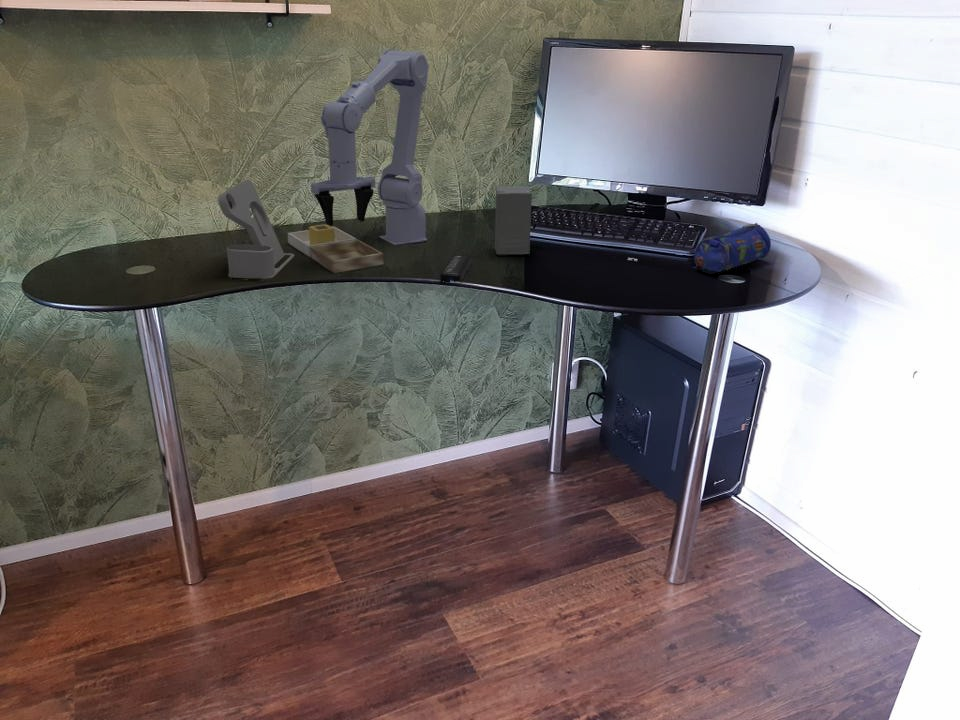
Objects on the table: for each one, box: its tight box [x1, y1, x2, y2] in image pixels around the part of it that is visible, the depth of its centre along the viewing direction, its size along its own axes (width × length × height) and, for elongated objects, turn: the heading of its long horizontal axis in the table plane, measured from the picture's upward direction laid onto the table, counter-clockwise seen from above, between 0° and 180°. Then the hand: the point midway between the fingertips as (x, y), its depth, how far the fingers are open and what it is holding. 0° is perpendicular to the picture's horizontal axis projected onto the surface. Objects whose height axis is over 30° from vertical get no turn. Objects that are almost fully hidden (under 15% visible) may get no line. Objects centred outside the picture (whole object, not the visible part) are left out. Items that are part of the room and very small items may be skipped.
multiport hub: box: [439, 253, 472, 284], centre depth 172 cm, size 4×14×2 cm, turn 171°
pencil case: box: [694, 222, 772, 273], centre depth 181 cm, size 22×9×10 cm, turn 133°
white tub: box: [287, 225, 358, 258], centre depth 184 cm, size 12×12×3 cm
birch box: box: [310, 239, 385, 276], centre depth 175 cm, size 12×12×3 cm
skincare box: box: [494, 185, 533, 255], centre depth 183 cm, size 8×7×16 cm
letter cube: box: [308, 223, 335, 245], centre depth 184 cm, size 4×4×5 cm
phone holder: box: [217, 179, 295, 279], centre depth 167 cm, size 17×10×18 cm, turn 175°
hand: (345, 222), depth 172 cm, fingers open, 7 cm apart
